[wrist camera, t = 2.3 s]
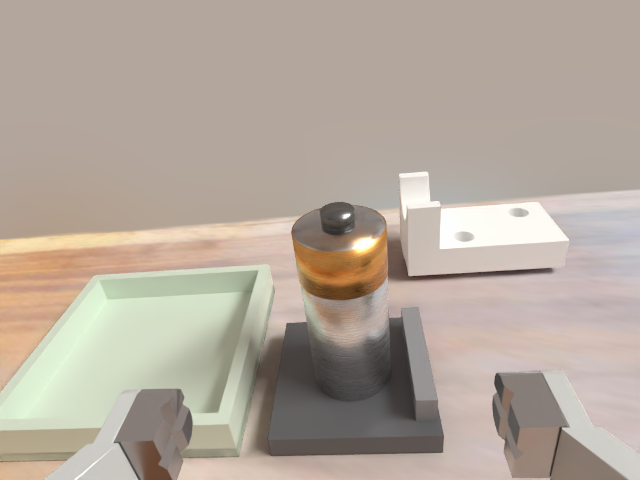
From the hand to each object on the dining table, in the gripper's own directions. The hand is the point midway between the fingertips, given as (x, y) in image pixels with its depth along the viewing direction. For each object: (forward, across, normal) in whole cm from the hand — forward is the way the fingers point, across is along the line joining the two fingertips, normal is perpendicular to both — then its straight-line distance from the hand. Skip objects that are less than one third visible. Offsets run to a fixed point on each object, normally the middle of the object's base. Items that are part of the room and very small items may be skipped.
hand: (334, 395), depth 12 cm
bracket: (+28, -11, +16) cm, 34 cm away
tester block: (+13, +1, +15) cm, 20 cm away
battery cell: (+13, 0, +13) cm, 19 cm away
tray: (+16, +16, +15) cm, 27 cm away
